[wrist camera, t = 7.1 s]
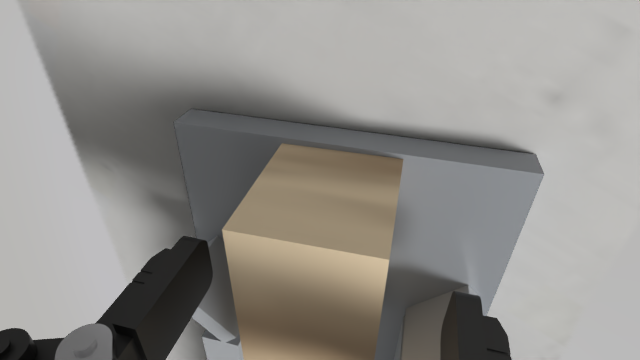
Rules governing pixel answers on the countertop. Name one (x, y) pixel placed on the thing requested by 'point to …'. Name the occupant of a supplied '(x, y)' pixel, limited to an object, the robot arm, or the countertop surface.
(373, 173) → the beech block
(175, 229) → the countertop surface
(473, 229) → the guide board
